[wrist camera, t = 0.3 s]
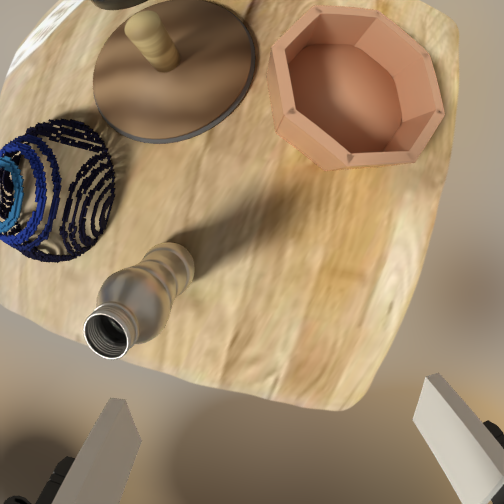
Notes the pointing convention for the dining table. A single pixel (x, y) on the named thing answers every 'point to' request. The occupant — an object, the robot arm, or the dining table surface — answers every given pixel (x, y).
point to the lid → (172, 69)
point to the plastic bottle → (138, 300)
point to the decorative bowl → (17, 182)
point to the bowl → (353, 89)
